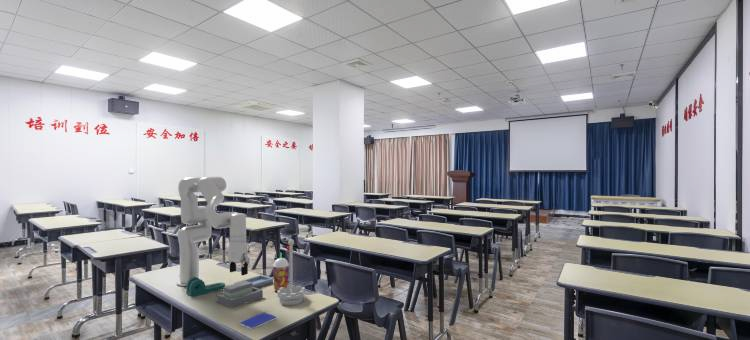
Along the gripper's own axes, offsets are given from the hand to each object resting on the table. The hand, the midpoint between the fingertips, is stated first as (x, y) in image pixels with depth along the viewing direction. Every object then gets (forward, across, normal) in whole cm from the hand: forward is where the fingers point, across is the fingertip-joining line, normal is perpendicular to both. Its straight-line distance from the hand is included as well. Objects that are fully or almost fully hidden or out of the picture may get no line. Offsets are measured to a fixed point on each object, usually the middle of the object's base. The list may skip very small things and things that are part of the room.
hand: (238, 273), depth 173 cm
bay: (+13, +1, 0) cm, 13 cm away
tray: (+12, -12, +17) cm, 24 cm away
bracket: (+13, -24, -3) cm, 27 cm away
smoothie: (+13, +7, +20) cm, 25 cm away
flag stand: (+14, +22, +14) cm, 30 cm away
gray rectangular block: (+13, -1, 0) cm, 13 cm away
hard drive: (+14, +29, -10) cm, 34 cm away
